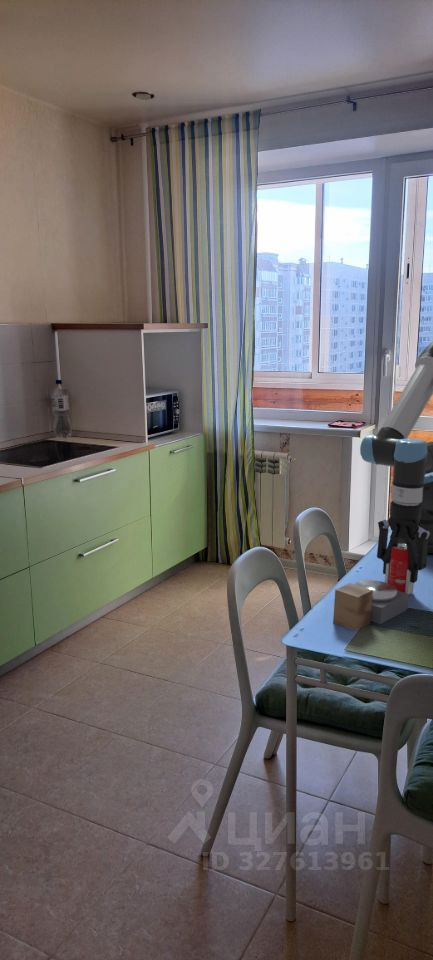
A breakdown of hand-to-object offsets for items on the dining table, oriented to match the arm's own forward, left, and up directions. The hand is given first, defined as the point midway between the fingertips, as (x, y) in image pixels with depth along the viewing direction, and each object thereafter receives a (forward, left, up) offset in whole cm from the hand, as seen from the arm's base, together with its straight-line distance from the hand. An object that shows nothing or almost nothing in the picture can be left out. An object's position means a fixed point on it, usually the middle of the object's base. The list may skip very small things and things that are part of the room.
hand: (398, 589), depth 178 cm
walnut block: (+25, +3, 0) cm, 25 cm away
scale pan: (+15, +2, +4) cm, 16 cm away
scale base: (+15, +2, 0) cm, 15 cm away
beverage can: (0, 0, 0) cm, 0 cm away
